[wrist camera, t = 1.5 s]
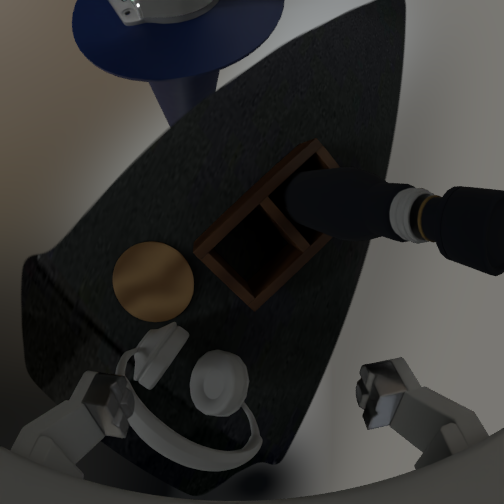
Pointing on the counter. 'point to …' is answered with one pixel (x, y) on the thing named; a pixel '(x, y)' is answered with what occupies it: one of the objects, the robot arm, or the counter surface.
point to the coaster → (153, 281)
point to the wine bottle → (398, 213)
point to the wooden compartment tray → (299, 243)
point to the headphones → (202, 393)
